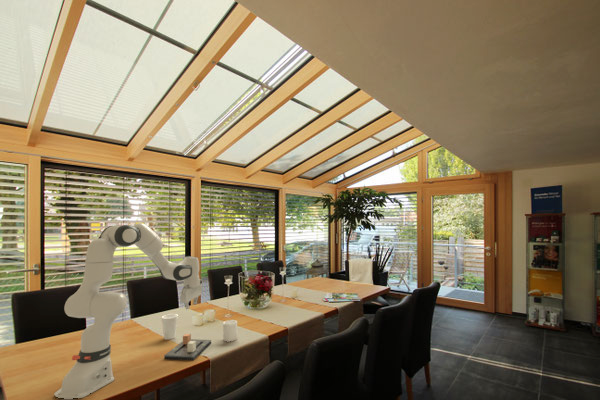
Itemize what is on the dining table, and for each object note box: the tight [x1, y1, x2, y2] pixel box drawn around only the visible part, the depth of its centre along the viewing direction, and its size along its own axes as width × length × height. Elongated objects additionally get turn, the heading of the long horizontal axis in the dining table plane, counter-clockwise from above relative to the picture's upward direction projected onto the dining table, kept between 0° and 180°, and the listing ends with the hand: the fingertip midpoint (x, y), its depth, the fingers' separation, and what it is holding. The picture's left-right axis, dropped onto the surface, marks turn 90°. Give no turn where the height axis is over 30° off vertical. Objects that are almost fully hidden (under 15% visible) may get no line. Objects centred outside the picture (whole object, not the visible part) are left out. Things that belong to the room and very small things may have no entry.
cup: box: [222, 319, 238, 343], centre depth 187 cm, size 8×12×10 cm
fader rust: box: [182, 333, 192, 345], centre depth 174 cm, size 4×3×5 cm
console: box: [163, 338, 212, 361], centre depth 169 cm, size 22×16×2 cm
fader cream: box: [187, 341, 196, 353], centre depth 163 cm, size 4×3×5 cm
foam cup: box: [161, 313, 179, 341], centre depth 190 cm, size 10×9×13 cm
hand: (191, 306), depth 182 cm, fingers open, 8 cm apart
